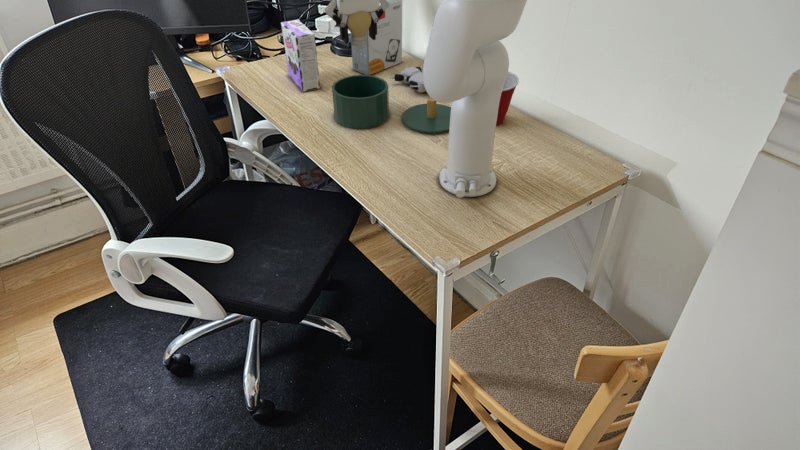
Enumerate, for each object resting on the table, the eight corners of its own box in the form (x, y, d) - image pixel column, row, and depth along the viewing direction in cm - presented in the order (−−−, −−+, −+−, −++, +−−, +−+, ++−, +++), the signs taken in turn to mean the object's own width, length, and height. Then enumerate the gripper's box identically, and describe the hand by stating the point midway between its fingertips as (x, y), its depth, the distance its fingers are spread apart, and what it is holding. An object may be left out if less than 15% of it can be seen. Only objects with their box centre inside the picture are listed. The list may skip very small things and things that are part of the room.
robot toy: (387, 86, 156) (420, 99, 146) (386, 71, 153) (420, 84, 144) (418, 75, 162) (451, 87, 153) (417, 61, 159) (451, 72, 150)
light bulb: (368, 53, 124) (367, 10, 117) (343, 51, 125) (340, 8, 118) (375, 44, 129) (373, 2, 122) (350, 42, 130) (347, 0, 123)
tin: (383, 130, 133) (382, 100, 128) (328, 126, 135) (325, 96, 130) (392, 105, 144) (392, 76, 139) (341, 102, 146) (339, 73, 141)
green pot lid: (458, 137, 131) (460, 115, 127) (397, 132, 133) (397, 111, 129) (462, 108, 143) (463, 88, 139) (406, 105, 145) (406, 84, 141)
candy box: (287, 75, 161) (279, 21, 150) (305, 71, 163) (299, 18, 152) (302, 92, 151) (294, 36, 141) (321, 88, 153) (315, 32, 143)
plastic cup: (463, 121, 137) (466, 78, 129) (488, 107, 143) (492, 66, 135) (496, 135, 131) (502, 91, 124) (521, 121, 137) (527, 77, 129)
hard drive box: (368, 76, 160) (365, 10, 147) (351, 70, 164) (347, 4, 151) (403, 62, 168) (402, -2, 156) (386, 56, 172) (384, -7, 160)
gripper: (385, -49, 119) (387, 30, 131) (312, -42, 114) (320, 39, 126) (397, -41, 114) (397, 40, 125) (320, -34, 109) (328, 50, 120)
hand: (359, 39), depth 125 cm, fingers closed on light bulb, 6 cm apart
